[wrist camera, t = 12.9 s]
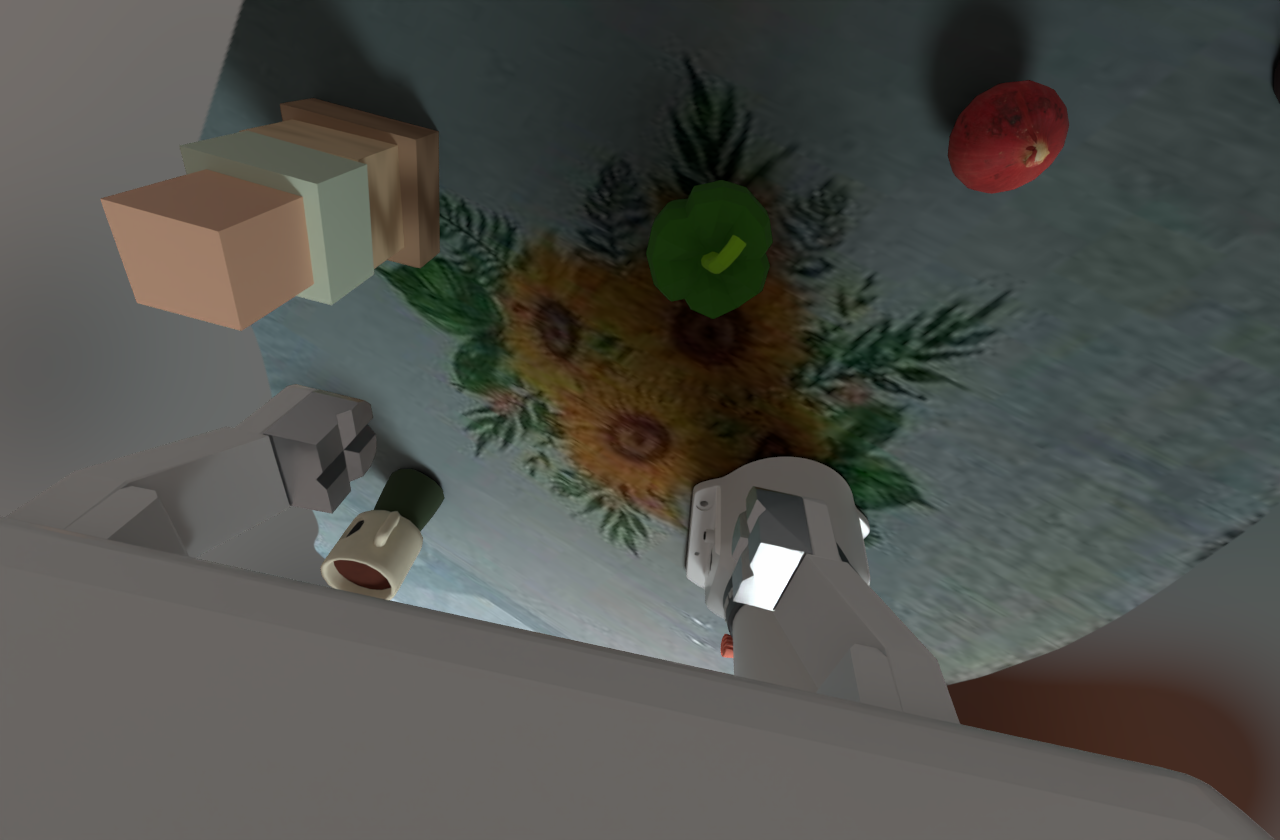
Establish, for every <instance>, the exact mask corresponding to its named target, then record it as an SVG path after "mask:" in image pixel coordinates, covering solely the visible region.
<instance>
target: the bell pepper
mask: <svg viewBox="0 0 1280 840" xmlns="http://www.w3.org/2000/svg"><path fill="white" fill-rule="evenodd" d="M772 243H773V241H772V234H771V226H770V219H769V216H768V214H767V211H766V210H765V208H764V207H763V206H762V205H761V204H760V203H759V202H758V200H757V199H756V198H755V197H754V196H753V195H752V193H751V192H750V191H749V190H748V189H747V188H746V187H743V186H740V185H737V184H734V183H731V182H727V181H724V180H719V181H715V182H711V183H706V184H702V185H697V186H694V187H693V189H692V191H691V193H690V195H689V197H688V199H678V200H673V201H671V202H669V203H667V205H666V206H665V207H664V208H663V209H662V211H661V212H660V213H659V214H658V215H657V217H656V218H655V220H654V223H653V226H652V229H651V234H650V238H649V243H648V247H647V252H646V255H647V259H648V263H649V267H650V271H651V275H652V279H653V283H654V285H655V286H656V287H657V288H658V289H659V290H660V291H661V293H662V294H663V295H664V296H665V297H666V298H667V299H668V300H670V301H677V300H681V299H685V301H686V302H687V304H688V306H689V307H690V309H692V310H694V311H696V312H698V313H701V314H703V315H705V316H707V317H710V318H712V319H715V318H717V317H719V316H721V315H723V314H725V313H727V312H729V311H731V310H734V309H736V308H738V307H739V306H741V305H742V304H744V303H745V302H746V301H748V300H749V299H751V298H752V297H754V296H755V295H757V294H758V293H760V292H761V291H762V290H763V287H764V284H765V280H766V277H767V274H768V270H769V267H770V265H769V262H768V258H767V255H766V251H767V250H768V248H769V247H770V246H771V244H772Z"/></svg>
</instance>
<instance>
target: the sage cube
mask: <svg viewBox="0 0 1280 840" xmlns="http://www.w3.org/2000/svg"><path fill="white" fill-rule="evenodd" d="M180 150H181V154H182V158H183V162H184V166H185V169H186V173H187V174H190V173H194V172H198V171H201V170H205V169H207V170H211V171H214V172H218V173H221V174H225V175H228V176H232V177H235V178H239V179H242V180H246V181H249V182H253V183H256V184H260V185H263V186H267V187H270V188H274V189H277V190H281V191H284V192H288V193H291V194H295V195H298V196H302V197H303V202H304V210H305V217H306V225H307V233H308V241H309V249H310V256H311V264H312V272H313V280H314V284H313V285H312V286H310V287H309V288H307V289H305V290H304V291H302V292H301V293H299V294H298V295H296V296H299V297H303V298H306V299H310V300H314V301H318V302H321V303H325V304H329V305H333V304H334V303H336V302H337V301H338V300H340V299H341V298H342V297H344V296H345V295H346V294H348V293H349V292H350V291H352V290H353V289H355V288H356V287H357V286H359V285H360V284H361V283H363V282H364V281H365V280H367V279H368V278H370V277H371V276H372V275H374V265H373V250H372V234H371V219H370V203H369V188H368V172H367V164H364V163H361V162H357V161H353V160H350V159H346V158H343V157H339V156H336V155H332V154H329V153H325V152H322V151H318V150H315V149H311V148H307V147H304V146H300V145H297V144H293V143H290V142H286V141H283V140H279V139H276V138H272V137H269V136H265V135H262V134H258V133H254V132H251V131H243V132H239V133H234V134H230V135H225V136H221V137H216V138H212V139H207V140H202V141H198V142H194V143H189V144H185V145H180Z"/></svg>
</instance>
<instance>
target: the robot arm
mask: <svg viewBox="0 0 1280 840" xmlns="http://www.w3.org/2000/svg"><path fill="white" fill-rule="evenodd" d="M372 418H373V414H372V409H371V404H369V403H368V402H366V401H365V400H360V399H356V398H352V397H348V396H344V395H340V394H336V393H332V392H328V391H323V390H317V389H313V388H309V387H305V386H301V385H297V384H295V385H290V386H287V387H286V388H285V389H283V390H282V391H281V392H280V393H278V394H277V395H276V396H274V397H273V398H272V399H271V400H269V401H268V402H267V403H266V404H264V405H263V406H262V407H261V408H259V409H258V410H257V411H255V412H254V413H253V414H252V415H250V416H249V417H248V418H247V419H245V420H244V421H243V422H241V423H240V424H239V425H238V426H236V427H235V428H230V427H224V428H220V429H216V430H213V431H210V432H206V433H203V434H200V435H196V436H193V437H189V438H186V439H182V440H179V441H175V442H172V443H169V444H165V445H162V446H159V447H155V448H152V449H148V450H145V451H141V452H138V453H135V454H131V455H128V456H124V457H121V458H117V459H114V460H110V461H107V462H104V463H100V464H97V465H93V466H90V467H86V468H83V469H80V470H76V471H74V472H72V473H71V474H69V475H68V476H66V477H65V478H63V479H62V480H60V481H59V482H57V483H56V484H54V485H53V486H51V487H50V488H48V489H47V490H45V491H44V492H42V493H40V494H39V495H38V496H36V497H34V498H33V499H32V500H30V501H28V502H27V503H25V504H24V505H22V506H21V507H20V508H18V509H17V510H15V511H13V512H12V513H10V514H9V515H7V516H6V517H3V516H0V840H1275V839H1274V838H1272V837H1271V836H1270V835H1269V834H1268V833H1267V832H1266V831H1264V830H1263V829H1262V828H1261V827H1260V826H1259V825H1257V824H1256V823H1255V822H1254V821H1253V820H1252V819H1251V818H1250V817H1248V816H1247V815H1246V814H1245V813H1244V812H1243V811H1242V810H1240V809H1239V808H1238V807H1237V806H1235V805H1234V804H1233V803H1231V802H1230V801H1229V800H1228V799H1226V798H1225V797H1223V795H1221V794H1220V793H1219V792H1217V791H1216V790H1215V789H1214V788H1212V787H1211V786H1210V785H1208V784H1206V783H1204V782H1203V781H1201V780H1199V779H1196V778H1194V777H1191V776H1189V775H1187V774H1184V773H1180V772H1176V771H1172V770H1169V769H1165V768H1161V767H1156V766H1151V765H1147V764H1142V763H1138V762H1133V761H1128V760H1123V759H1118V758H1113V757H1109V756H1104V755H1100V754H1095V753H1091V752H1085V751H1081V750H1077V749H1072V748H1067V747H1062V746H1058V745H1053V744H1048V743H1044V742H1039V741H1035V740H1030V739H1025V738H1021V737H1016V736H1011V735H1006V734H1002V733H998V732H993V731H988V730H984V729H979V728H974V727H970V726H965V725H961V724H960V723H959V720H958V718H957V715H956V712H955V709H954V706H953V704H952V700H951V698H950V695H949V692H948V689H947V686H946V683H945V681H944V678H943V675H942V672H941V669H940V666H939V664H938V661H937V659H936V658H935V657H934V656H933V655H932V654H931V653H930V652H929V650H928V649H927V648H926V647H925V646H924V645H923V644H922V643H921V642H920V641H919V640H918V639H917V637H916V636H915V635H914V634H913V633H912V632H911V631H910V630H909V629H908V628H907V627H906V626H905V624H904V623H903V622H902V621H901V620H900V619H899V618H898V617H897V616H896V615H895V614H894V612H893V611H892V610H891V609H890V608H889V607H888V606H887V605H886V604H885V603H884V602H883V601H882V599H881V598H880V597H879V596H878V595H877V594H876V593H875V592H874V591H873V590H872V589H871V588H870V586H869V584H870V573H869V567H868V562H867V556H866V551H865V545H864V540H863V539H864V538H865V537H866V536H867V535H868V534H869V532H870V528H869V522H868V520H867V518H866V517H865V516H864V515H863V514H862V513H861V512H860V511H859V510H858V509H857V508H856V506H855V503H854V499H853V495H852V492H851V489H850V487H849V485H848V484H847V482H846V481H845V480H844V479H843V478H842V476H840V475H839V474H838V473H837V472H836V471H834V470H833V469H831V468H830V467H828V466H826V465H824V464H821V463H819V462H816V461H813V460H809V459H805V458H799V457H772V458H766V459H761V460H758V461H754V462H751V463H749V464H746V465H744V466H742V467H740V468H738V469H737V470H735V471H733V472H732V473H730V474H728V475H726V476H724V477H722V478H717V479H712V480H708V481H704V482H701V483H699V484H697V485H696V486H695V487H694V489H693V497H692V508H691V518H690V529H689V540H688V551H687V562H686V575H687V578H688V579H689V580H690V581H692V582H693V583H694V584H696V585H698V586H700V587H701V588H704V589H705V603H706V606H707V607H708V608H709V609H710V610H711V611H712V612H713V613H714V614H716V615H718V616H719V617H721V618H723V619H725V622H727V625H728V630H729V632H730V635H728V634H724V636H723V638H722V642H721V655H722V657H728V658H733V659H734V675H731V674H726V673H722V672H717V671H712V670H708V669H703V668H699V667H694V666H690V665H685V664H680V663H676V662H671V661H667V660H662V659H657V658H653V657H648V656H643V655H639V654H634V653H630V652H625V651H620V650H616V649H611V648H606V647H602V646H597V645H593V644H588V643H583V642H579V641H574V640H569V639H565V638H560V637H556V636H551V635H546V634H542V633H537V632H533V631H528V630H523V629H519V628H514V627H510V626H505V625H500V624H496V623H491V622H487V621H482V620H477V619H473V618H468V617H464V616H459V615H454V614H450V613H445V612H441V611H436V610H431V609H427V608H422V607H418V606H413V605H408V604H404V603H399V602H395V601H390V600H385V599H381V598H376V597H372V596H367V595H362V594H358V593H353V592H349V591H344V590H339V589H335V588H330V587H325V586H321V585H316V584H311V583H307V582H302V581H297V580H293V579H289V578H284V577H279V576H275V575H270V574H265V573H261V572H256V571H251V570H247V569H243V568H238V567H233V566H228V565H224V564H219V563H215V562H210V561H206V560H201V559H196V557H198V556H200V555H202V554H204V553H206V552H208V551H210V550H211V549H213V548H215V547H217V546H219V545H221V544H222V543H224V542H226V541H228V540H230V539H232V538H234V537H236V536H237V535H240V534H241V533H243V532H245V531H247V530H249V529H251V528H253V527H255V526H257V525H259V524H260V523H262V522H264V521H266V520H268V519H270V518H272V517H273V516H275V515H277V514H279V513H281V512H283V511H285V510H287V509H289V508H290V506H296V507H301V508H306V509H311V510H316V511H322V512H327V513H333V512H334V511H335V510H336V508H337V507H338V506H339V505H340V504H341V502H342V501H343V500H344V499H345V498H346V496H347V495H348V494H349V493H350V491H351V487H350V482H351V481H353V480H355V479H358V478H360V477H362V476H364V474H365V473H366V472H367V470H368V469H369V468H370V467H371V464H372V462H373V459H374V457H375V454H376V446H377V441H376V434H375V433H374V432H373V430H372V429H371V428H370V427H369V426H368V423H369V421H370V420H371V419H372ZM702 501H707V502H702Z"/></svg>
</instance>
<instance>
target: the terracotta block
mask: <svg viewBox="0 0 1280 840" xmlns="http://www.w3.org/2000/svg"><path fill="white" fill-rule="evenodd" d="M101 202H102V205H103V208H104V211H105V214H106V216H107V219H108V222H109V225H110V228H111V230H112V233H113V236H114V239H115V242H116V244H117V248H118V250H119V253H120V256H121V259H122V262H123V264H124V267H125V270H126V273H127V276H128V279H129V281H130V284H131V287H132V290H133V293H134V296H135V298H136V301H137V303H139V304H143V305H147V306H150V307H154V308H158V309H162V310H166V311H169V312H173V313H177V314H180V315H184V316H188V317H191V318H195V319H199V320H203V321H206V322H210V323H214V324H218V325H222V326H225V327H229V328H233V329H237V330H240V331H242V330H244V329H245V328H247V327H248V326H250V325H251V324H253V323H254V322H256V321H258V320H259V319H261V318H262V317H264V316H265V315H267V314H268V313H270V312H271V311H273V310H275V309H276V308H278V307H279V306H281V305H282V304H284V303H285V302H287V301H288V300H290V299H292V298H293V297H295V296H296V295H298V294H299V293H301V292H302V291H304V290H305V289H307V288H309V287H310V286H312V285H313V284H314V280H313V272H312V264H311V256H310V249H309V241H308V233H307V225H306V217H305V210H304V202H303V197H302V196H298V195H295V194H291V193H288V192H284V191H281V190H277V189H274V188H270V187H267V186H263V185H260V184H256V183H253V182H249V181H246V180H242V179H239V178H235V177H232V176H228V175H225V174H221V173H218V172H214V171H211V170H207V169H205V170H201V171H198V172H194V173H190V174H187V175H184V176H180V177H176V178H173V179H169V180H165V181H162V182H158V183H155V184H151V185H148V186H144V187H140V188H137V189H133V190H130V191H126V192H122V193H119V194H116V195H112V196H108V197H104V198H101Z"/></svg>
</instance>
